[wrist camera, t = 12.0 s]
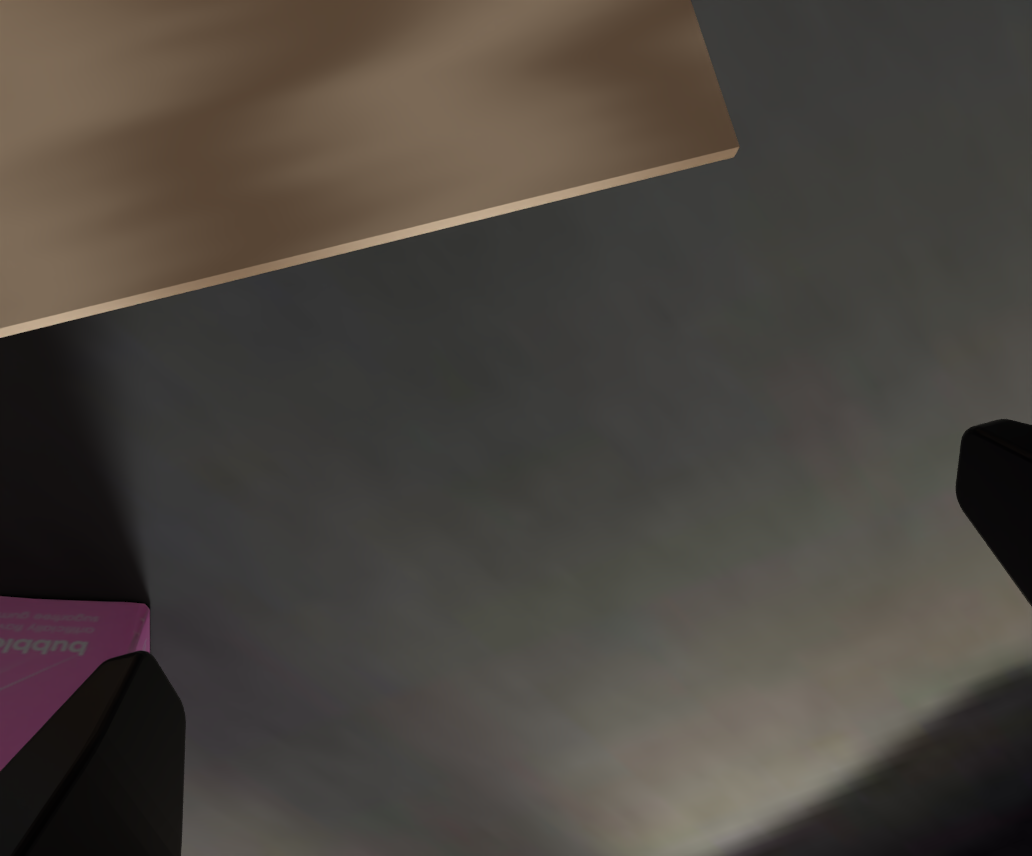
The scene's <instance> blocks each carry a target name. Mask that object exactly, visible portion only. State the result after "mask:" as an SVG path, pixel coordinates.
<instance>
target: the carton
mask: <svg viewBox="0 0 1032 856" xmlns="http://www.w3.org/2000/svg"><path fill="white" fill-rule="evenodd" d="M739 147H740V146H739V143H738V140H737V138H736V135H735V132H734V129H733V126H732V123H731V120H730V117H729V114H728V111H727V108H726V105H725V102H724V99H723V96H722V93H721V90H720V87H719V84H718V81H717V78H716V75H715V72H714V69H713V66H712V63H711V60H710V57H709V54H708V51H707V48H706V45H705V42H704V39H703V36H702V33H701V30H700V27H699V24H698V21H697V18H696V15H695V12H694V9H693V6H692V3H691V0H0V338H2V337H6V336H10V335H14V334H18V333H22V332H26V331H30V330H34V329H38V328H42V327H46V326H50V325H55V324H59V323H63V322H67V321H71V320H75V319H79V318H83V317H87V316H91V315H95V314H99V313H103V312H107V311H111V310H115V309H119V308H124V307H128V306H132V305H136V304H140V303H144V302H148V301H152V300H156V299H160V298H164V297H168V296H172V295H176V294H180V293H184V292H188V291H193V290H197V289H201V288H205V287H209V286H213V285H217V284H221V283H225V282H229V281H233V280H237V279H241V278H245V277H249V276H253V275H257V274H262V273H266V272H270V271H274V270H278V269H282V268H286V267H290V266H294V265H298V264H302V263H306V262H310V261H314V260H318V259H322V258H326V257H331V256H335V255H339V254H343V253H347V252H351V251H355V250H359V249H363V248H367V247H371V246H375V245H379V244H383V243H387V242H391V241H395V240H400V239H404V238H408V237H412V236H416V235H420V234H424V233H428V232H432V231H436V230H440V229H444V228H448V227H452V226H456V225H460V224H464V223H469V222H473V221H477V220H481V219H485V218H489V217H493V216H497V215H501V214H505V213H509V212H513V211H517V210H521V209H525V208H529V207H533V206H538V205H542V204H546V203H550V202H554V201H558V200H562V199H566V198H570V197H574V196H578V195H582V194H586V193H590V192H594V191H598V190H602V189H607V188H611V187H615V186H619V185H623V184H627V183H631V182H635V181H639V180H643V179H647V178H651V177H655V176H659V175H663V174H667V173H671V172H676V171H680V170H684V169H688V168H692V167H696V166H700V165H704V164H708V163H712V162H716V161H720V160H724V159H728V158H732V157H734V156H735V154H736V152H737V150H738V149H739Z"/></svg>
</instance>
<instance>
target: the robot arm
mask: <svg viewBox="0 0 1032 856" xmlns="http://www.w3.org/2000/svg"><path fill="white" fill-rule="evenodd" d="M956 496H957V499H958V502H959V504H960V507H961V508H962V510H963V512H964V513H965V515H966V516H967V517H968V519H969V520H970V522H971V523H972V524H973V526H974V527H975V528H976V530H977V531H978V533H979V534H980V535H981V537H982V538H983V540H984V541H985V542H986V544H987V545H988V547H989V548H990V549H991V551H992V552H993V554H994V555H995V556H996V558H997V559H998V560H999V562H1000V563H1001V565H1002V566H1003V567H1004V569H1005V570H1006V572H1007V573H1008V574H1009V576H1010V577H1011V579H1012V580H1013V581H1014V583H1015V584H1016V586H1017V587H1018V588H1019V590H1020V591H1021V592H1022V594H1023V595H1024V597H1025V598H1026V599H1027V601H1028V602H1029V603H1030V605H1031V606H1032V425H1029V424H1025V423H1021V422H1017V421H1013V420H1008V419H1000V420H995V421H991V422H988V423H984V424H980V425H977V426H973V427H971V428H969V429H968V430H966V431H965V433H964V435H963V436H962V440H961V446H960V455H959V463H958V471H957V479H956ZM185 730H186V719H185V712H184V708H183V705H182V702H181V700H180V698H179V696H178V695H177V693H176V691H175V690H174V688H173V687H172V685H171V683H170V682H169V680H168V679H167V677H166V675H165V674H164V672H163V670H162V669H161V667H160V666H159V664H158V662H157V661H156V659H155V658H154V657H153V655H152V654H150V653H149V652H147V651H142V650H140V651H135V652H132V653H128V654H124V655H120V656H117V657H113V658H110V659H108V660H106V661H104V662H103V663H102V664H100V665H99V666H98V667H97V669H96V670H95V671H94V672H93V673H92V674H91V675H90V676H89V677H88V678H87V679H86V680H85V681H84V682H83V683H82V685H81V686H80V687H79V688H78V689H77V690H76V691H75V692H74V693H73V694H72V695H71V696H70V697H69V698H68V699H67V700H66V702H65V703H64V704H63V705H62V706H61V707H60V708H59V709H58V710H57V711H56V712H55V713H54V714H53V715H52V716H51V718H50V719H49V720H48V721H47V722H46V723H45V724H44V725H43V726H42V727H41V728H40V729H39V730H38V731H37V732H36V734H35V735H34V736H33V737H32V738H31V739H30V740H29V741H28V742H27V743H26V744H25V745H24V746H23V747H22V748H21V750H20V751H19V752H18V753H17V754H16V755H15V756H14V757H13V758H12V759H11V760H10V761H9V762H8V763H7V764H6V766H5V767H4V768H3V769H2V770H1V771H0V856H181V845H182V820H183V790H184V760H185Z"/></svg>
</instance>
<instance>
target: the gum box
mask: <svg viewBox="0 0 1032 856" xmlns="http://www.w3.org/2000/svg"><path fill="white" fill-rule="evenodd" d="M140 650H142V651H147V652H149V653H150V609H149V608H148V607H147V606H146V605H145V604H143V603H132V602H106V601H79V600H55V599H30V598H18V597H5V596H0V771H1V770H2V769H3V768H4V767H5V766H6V764H7V763H8V762H9V761H10V760H11V759H12V758H13V757H14V756H15V755H16V754H17V753H18V752H19V751H20V750H21V748H22V747H23V746H24V745H25V744H26V743H27V742H28V741H29V740H30V739H31V738H32V737H33V736H34V735H35V734H36V732H37V731H38V730H39V729H40V728H41V727H42V726H43V725H44V724H45V723H46V722H47V721H48V720H49V719H50V718H51V716H52V715H53V714H54V713H55V712H56V711H57V710H58V709H59V708H60V707H61V706H62V705H63V704H64V703H65V702H66V700H67V699H68V698H69V697H70V696H71V695H72V694H73V693H74V692H75V691H76V690H77V689H78V688H79V687H80V686H81V685H82V683H83V682H84V681H85V680H86V679H87V678H88V677H89V676H90V675H91V674H92V673H93V672H94V671H95V670H96V669H97V667H98V666H99V665H100V664H102V663H103V662H104V661H106V660H108V659H110V658H113V657H117V656H120V655H124V654H128V653H132V652H135V651H140Z"/></svg>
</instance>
